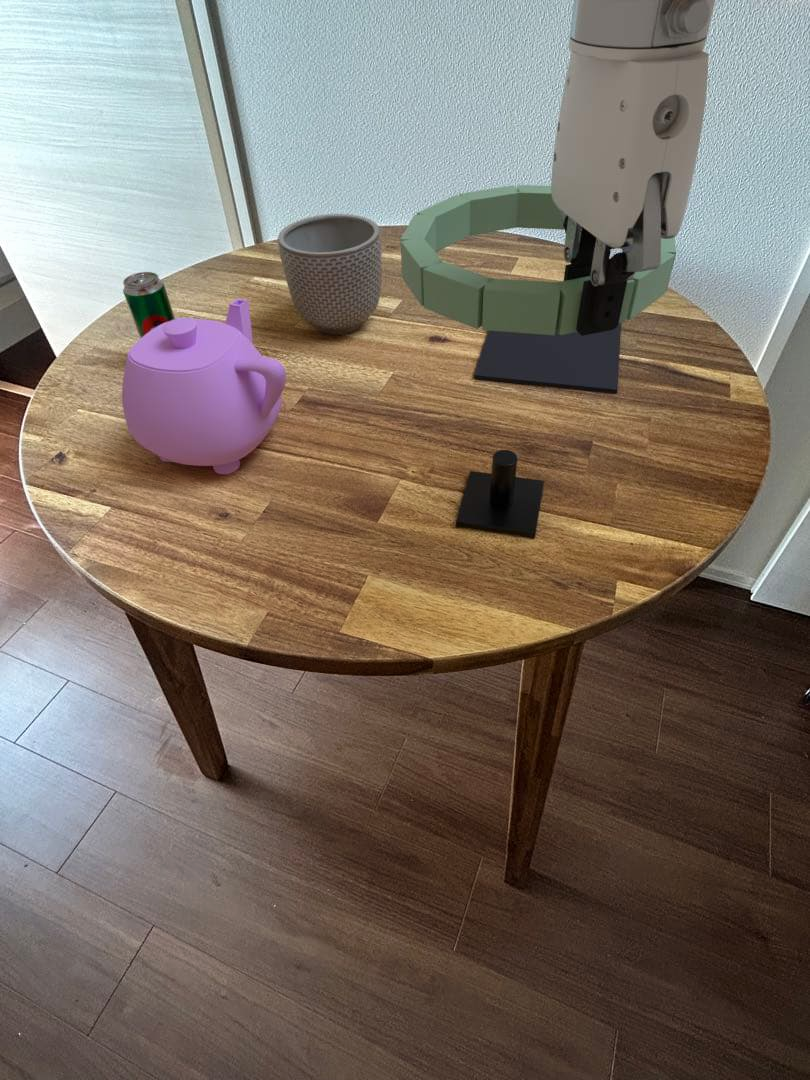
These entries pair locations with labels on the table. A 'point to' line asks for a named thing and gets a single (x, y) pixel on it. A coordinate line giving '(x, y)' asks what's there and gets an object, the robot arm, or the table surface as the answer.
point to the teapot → (202, 391)
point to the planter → (333, 269)
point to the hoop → (506, 299)
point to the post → (501, 499)
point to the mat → (552, 359)
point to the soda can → (147, 301)
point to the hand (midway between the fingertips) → (587, 320)
